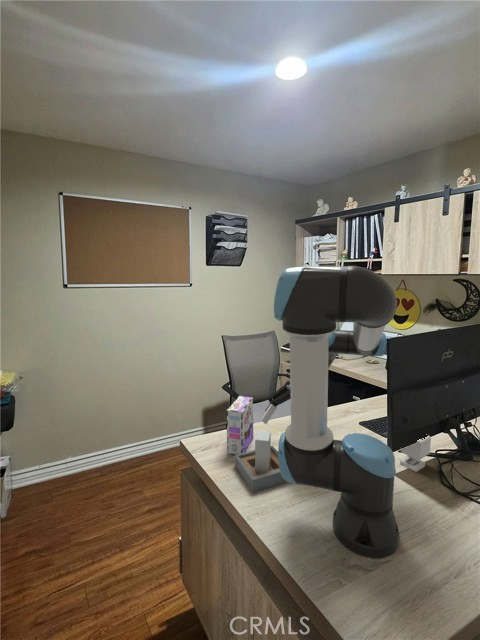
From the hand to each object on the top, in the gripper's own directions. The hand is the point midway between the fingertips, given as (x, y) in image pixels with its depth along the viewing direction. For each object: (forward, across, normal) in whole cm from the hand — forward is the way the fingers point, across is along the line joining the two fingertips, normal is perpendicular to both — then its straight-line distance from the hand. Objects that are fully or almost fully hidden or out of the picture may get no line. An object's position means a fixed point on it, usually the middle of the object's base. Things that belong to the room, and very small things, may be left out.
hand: (276, 430), depth 106 cm
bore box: (+13, -1, -5) cm, 14 cm away
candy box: (+11, +17, -7) cm, 21 cm away
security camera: (-18, -25, -36) cm, 47 cm away
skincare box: (+12, 0, -5) cm, 13 cm away
